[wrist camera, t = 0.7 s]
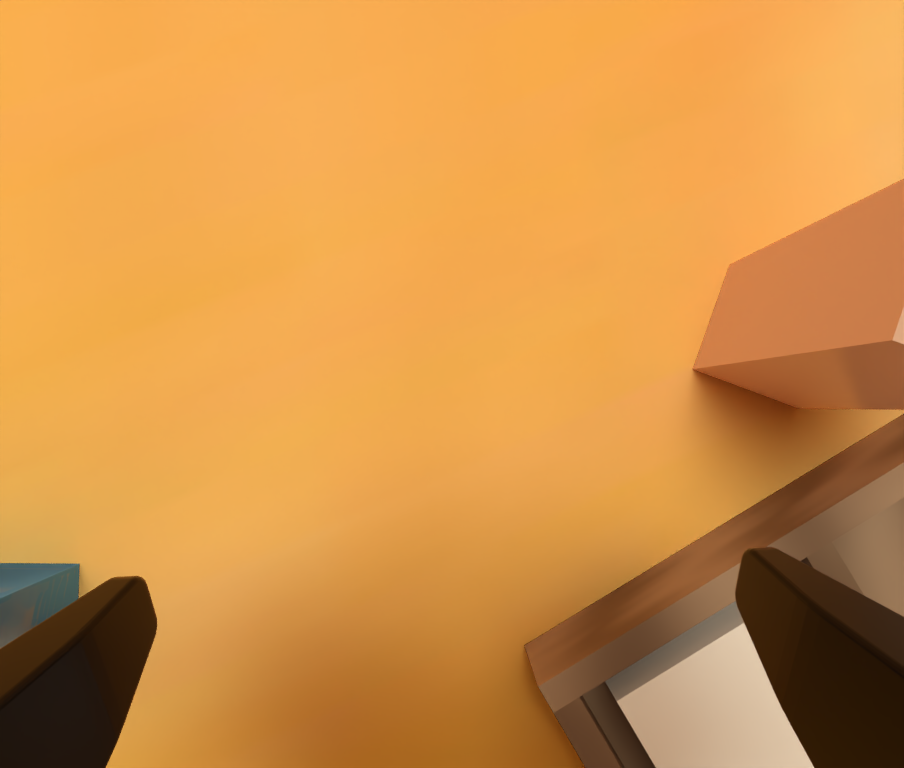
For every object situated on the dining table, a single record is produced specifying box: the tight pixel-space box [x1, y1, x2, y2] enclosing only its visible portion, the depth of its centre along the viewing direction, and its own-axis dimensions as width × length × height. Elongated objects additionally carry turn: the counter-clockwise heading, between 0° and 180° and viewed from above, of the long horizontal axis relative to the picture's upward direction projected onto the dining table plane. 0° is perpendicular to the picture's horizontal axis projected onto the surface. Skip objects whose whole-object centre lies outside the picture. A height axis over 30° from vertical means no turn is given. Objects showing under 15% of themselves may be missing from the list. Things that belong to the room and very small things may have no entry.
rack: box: [524, 414, 904, 768], centre depth 20 cm, size 21×11×3 cm, turn 121°
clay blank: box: [693, 179, 904, 409], centre depth 18 cm, size 4×4×10 cm
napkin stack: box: [605, 601, 814, 768], centre depth 20 cm, size 7×7×2 cm
